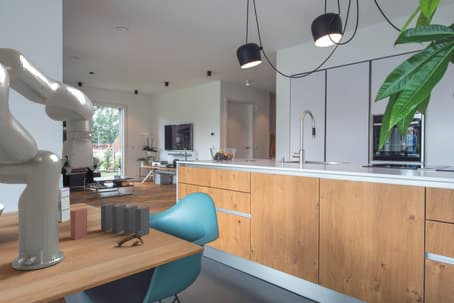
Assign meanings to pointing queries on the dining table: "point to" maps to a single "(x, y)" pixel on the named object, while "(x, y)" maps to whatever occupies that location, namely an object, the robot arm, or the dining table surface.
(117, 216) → the domino
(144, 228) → the domino
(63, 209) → the syrup box
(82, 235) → the domino
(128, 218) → the domino
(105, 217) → the domino
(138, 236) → the wooden post with brackets
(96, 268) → the dining table surface
